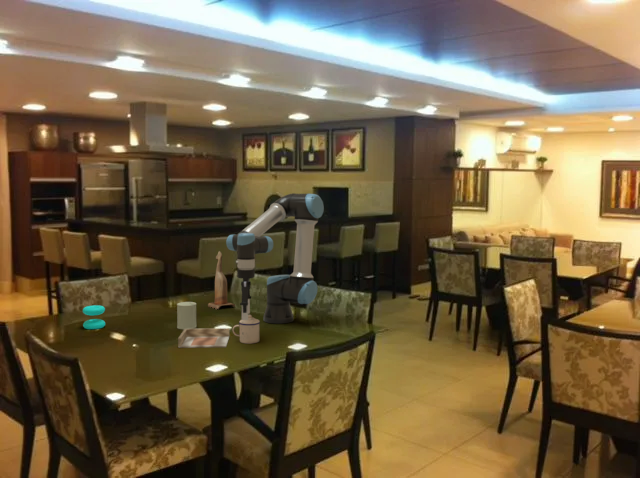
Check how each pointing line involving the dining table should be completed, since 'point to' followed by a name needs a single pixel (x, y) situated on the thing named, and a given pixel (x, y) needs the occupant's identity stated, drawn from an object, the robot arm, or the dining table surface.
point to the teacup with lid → (248, 330)
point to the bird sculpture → (220, 286)
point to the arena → (203, 338)
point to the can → (186, 315)
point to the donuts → (94, 322)
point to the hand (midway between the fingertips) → (245, 316)
